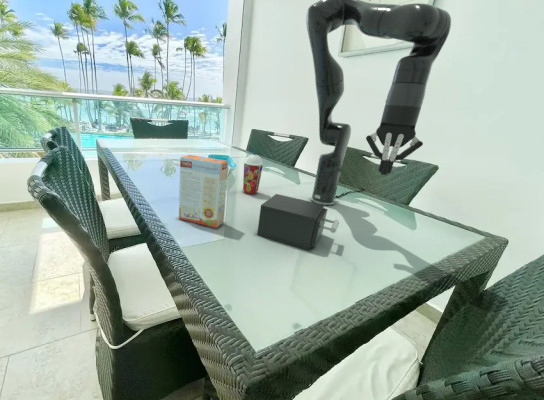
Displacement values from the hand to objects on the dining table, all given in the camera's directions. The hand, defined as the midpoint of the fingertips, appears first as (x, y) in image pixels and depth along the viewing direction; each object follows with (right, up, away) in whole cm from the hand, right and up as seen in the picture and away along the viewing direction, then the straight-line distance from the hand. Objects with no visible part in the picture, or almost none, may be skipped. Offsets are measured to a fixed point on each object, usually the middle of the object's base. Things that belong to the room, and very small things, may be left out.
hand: (383, 174), depth 71 cm
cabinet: (-22, -17, +14) cm, 31 cm away
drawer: (-18, -17, +12) cm, 28 cm away
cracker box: (-49, -14, +19) cm, 55 cm away
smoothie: (-30, -3, +52) cm, 60 cm away
